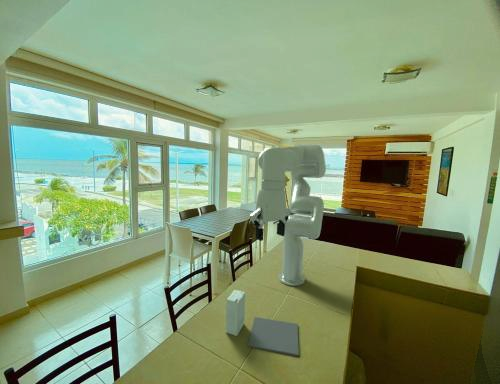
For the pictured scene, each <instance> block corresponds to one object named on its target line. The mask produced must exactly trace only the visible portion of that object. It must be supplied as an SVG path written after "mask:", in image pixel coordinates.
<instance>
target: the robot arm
mask: <svg viewBox="0 0 500 384" xmlns="http://www.w3.org/2000/svg"><path fill="white" fill-rule="evenodd" d="M257 161H258V162H257V163H258V166H259V169H261V189H259V190H258V194H257V197H256V204H255V210H254V211H253V212H251V213H250V214H249V219H250V222H251V224H252V225H253V227H254V228H255V235H254V237H255V239H256V240H258V241H260V242H262V241H263V240H264V230H265V229H264V228H263V227H264V225H265V223H269V222H270V223H271V222H275V221H277V224H276V235H278V236H281V237H282V238H283V239H282V241H283V242H282V261H281V262H282V263H281V265H282V266H281V271H280V272H279V273H278V277H277V278H278V279H279V281H280V282H281V283H283V284H285V285H287V286H292V287H294V286H295V287H296V286H301V285H303V284H304V283H305V281H306V278H305V275H303V261H304V243H303V240H302V238H306V239H312V240H316V239H318V238H319V237H320V234H321V230H322V226H323V225H322V224H323V223H322V222H323V216H324V209H325V207H324V206H325V203H324V200H323V198H322V197H320V196H315V195H310V194H311V185H310V184H309V183H308V181H307V180H306V179H304V178H307V179H310V178H312V179H321V178H323V177H324V176H325V174H326V171H327V170H326V169H327V167H326V166H327V165H326V159H325V153H324V150H323V147H321V146H320V145H319V144H318V145H317V144H315V145H314V144H311V145H309V144H305V145H304V144H303V145H301V144H299V145H294V146H286V147H275V146H274V147H271V146H270V147H266V148H264V149H263V150H262V151H261V152H259V155H258V158H257ZM286 172H289V173H290V177H291V181H292V186H293V187H292V193H291V197H290V202H289V209H288V208H287V200H286V199H287V196H286V190H285V187H286V181H285V180H286ZM291 213H293V214H291Z"/></svg>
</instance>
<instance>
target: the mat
mask: <svg viewBox="0 0 500 384" xmlns="http://www.w3.org/2000/svg"><path fill="white" fill-rule="evenodd" d="M248 339H249V340H248V344H247V347H248V348H254V349H259V350H263V351H268V352H269V351H270V352H272V353H273V352H274V353H279V354H286V355H290V356H294V357H299V354H300V353H299V329H298V323H295V322H288V321H281V320H275V319H270V318H263V317H258V316H254V318H253V323H252V327H251V331H250V335H249V338H248Z"/></svg>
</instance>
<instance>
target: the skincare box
mask: <svg viewBox="0 0 500 384" xmlns="http://www.w3.org/2000/svg"><path fill="white" fill-rule="evenodd" d="M245 307H246V292H245V291H241V290H238V289H234V290H233V291H232V292H231V294H229V296H228V298H227V299H226V307H225V308H226V311H225V313H226V314H225V333H227V334H230V335H233V336H235V337H237V336H238V335H239V333H240V331H241V330H242V328H243V327H244V324H245V315H246V314H245V310H246V308H245Z"/></svg>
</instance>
